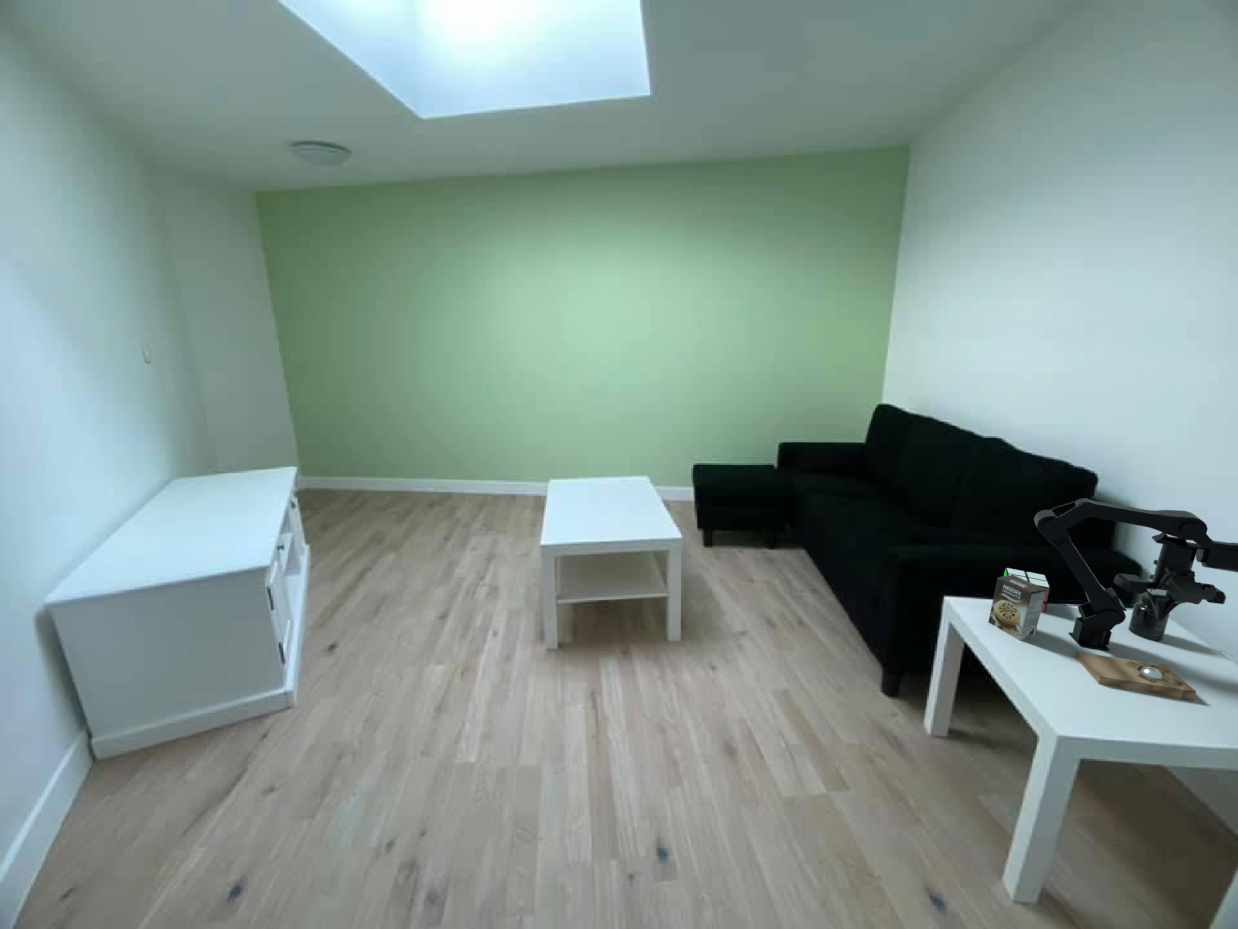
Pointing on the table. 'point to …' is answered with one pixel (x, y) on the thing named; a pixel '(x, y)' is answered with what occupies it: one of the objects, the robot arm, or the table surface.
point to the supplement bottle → (1147, 621)
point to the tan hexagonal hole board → (1134, 676)
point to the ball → (1152, 673)
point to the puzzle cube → (1034, 579)
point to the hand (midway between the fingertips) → (1159, 618)
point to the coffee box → (1016, 606)
